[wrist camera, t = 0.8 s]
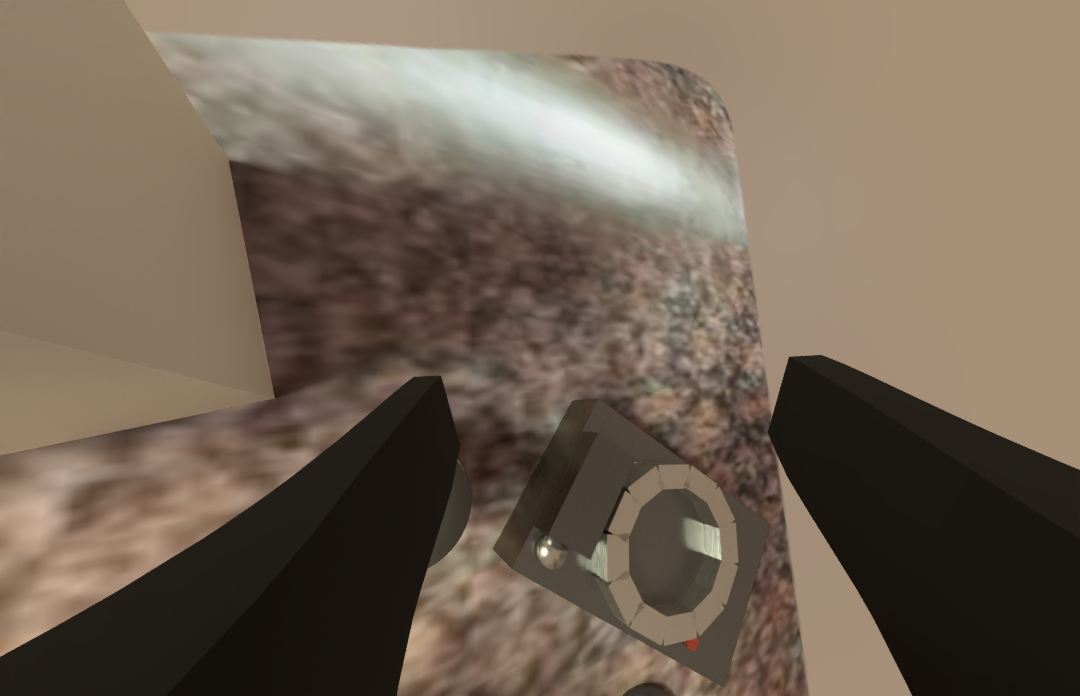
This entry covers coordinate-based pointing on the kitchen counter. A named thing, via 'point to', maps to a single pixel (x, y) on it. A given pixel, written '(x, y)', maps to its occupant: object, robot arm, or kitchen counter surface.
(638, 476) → the camera body
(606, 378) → the kitchen counter surface
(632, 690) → the lens cap
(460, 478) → the lens
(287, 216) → the kitchen counter surface
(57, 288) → the milk
